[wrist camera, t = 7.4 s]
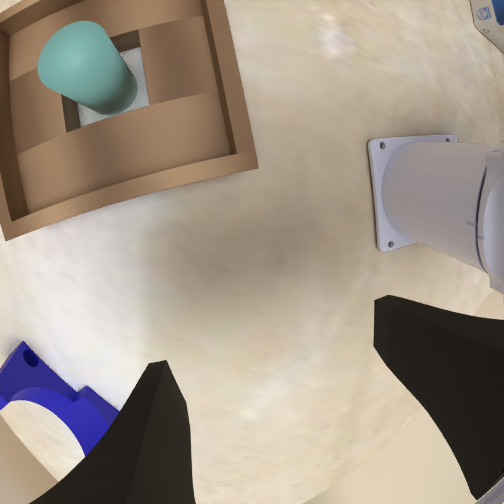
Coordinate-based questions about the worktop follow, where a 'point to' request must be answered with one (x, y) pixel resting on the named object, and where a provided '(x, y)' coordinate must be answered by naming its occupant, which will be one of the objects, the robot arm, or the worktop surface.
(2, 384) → the cable clip
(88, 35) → the peg
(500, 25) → the string lights box
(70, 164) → the peg box
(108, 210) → the worktop surface
